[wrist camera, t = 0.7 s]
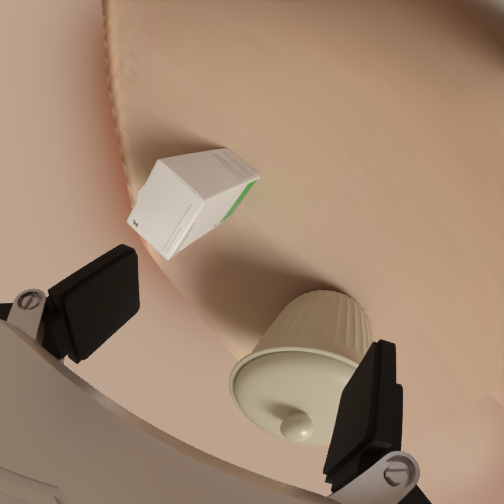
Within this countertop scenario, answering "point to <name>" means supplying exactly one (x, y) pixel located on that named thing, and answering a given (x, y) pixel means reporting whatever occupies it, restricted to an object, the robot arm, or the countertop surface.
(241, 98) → the countertop surface
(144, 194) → the skincare box
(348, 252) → the countertop surface
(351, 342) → the canister
